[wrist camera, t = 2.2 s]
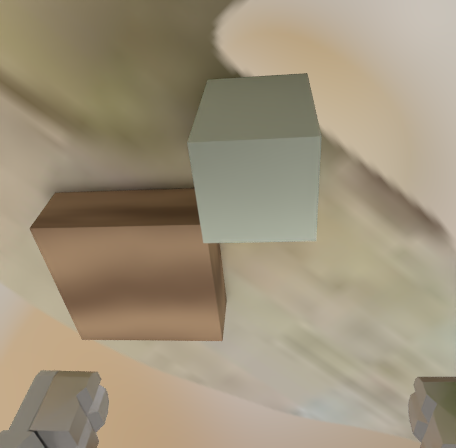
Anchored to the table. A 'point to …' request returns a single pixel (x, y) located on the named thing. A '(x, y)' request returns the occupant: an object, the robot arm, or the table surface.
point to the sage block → (256, 160)
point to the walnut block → (133, 264)
